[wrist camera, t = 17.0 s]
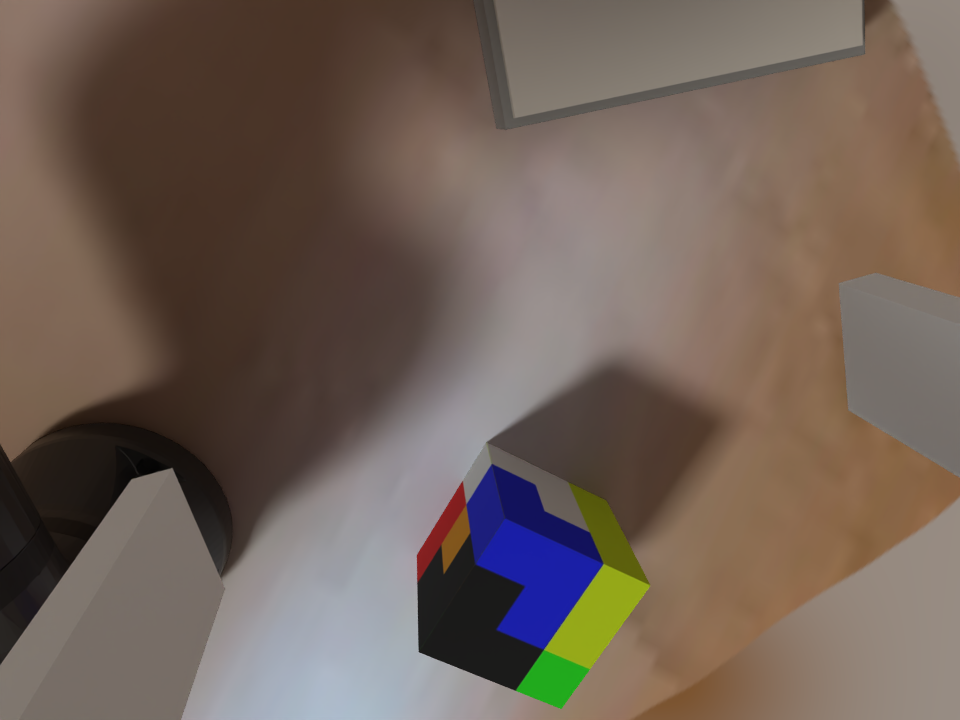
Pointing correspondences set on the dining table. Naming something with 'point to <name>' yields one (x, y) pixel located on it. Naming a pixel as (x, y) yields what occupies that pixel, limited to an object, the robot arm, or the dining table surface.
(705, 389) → the dining table surface
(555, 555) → the puzzle toy
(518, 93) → the plinth
